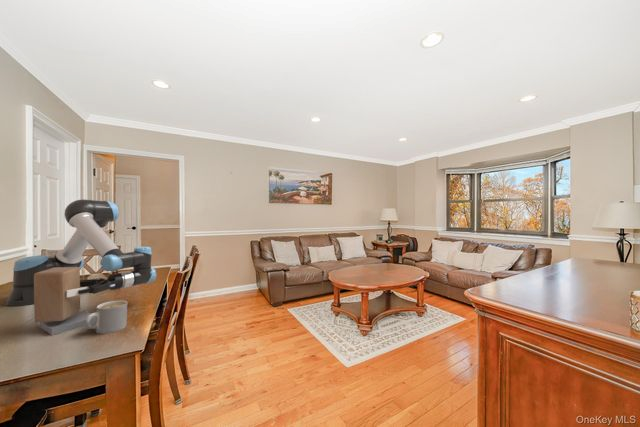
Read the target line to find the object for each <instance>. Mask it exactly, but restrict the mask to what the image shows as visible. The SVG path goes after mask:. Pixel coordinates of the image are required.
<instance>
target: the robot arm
mask: <svg viewBox="0 0 640 427" xmlns="http://www.w3.org/2000/svg"><path fill="white" fill-rule="evenodd" d="M119 211H120V210H119V208H118V205H117V204H116V203H115V202H113V201H109V200H96V199H95V200H94V199H78V200H74V201H71V202H70V203H69V204H68V205H66V208H65V209H64V219H65V220H66V222H67V224H68V225H69V226H70V227H72V228H75V229H76V230H75V231H74V233H73V235H71V237H70V239H69V240H68V242H67V243H66V245H65V246H64V247H63V249H60V250H58V251H57V252H56V254H55V255H54V256H48V255H47V254H42V255H41V254H40V255H31V256H25V257H22V258H19V259H17V260H15V262H14V265H13V267H12V268H13V277H12V280H13V281H12V290H11V292H10V293H9V295H8V297H7V300H6V306H9V307H19V306H20V307H21V306H28V305H29V306H30V305H33V304H34V274H35V273H38V272H41V271H44V270H48V269H51V268H57V267H79V268H80V271H81V270H82V269H83V267H84V263H85V260H84V257H83V254H84V253H85V251H86V249H87V248H88V247H89V245H90V246H91V247H92V248H93V249H94V251H95V252H96V253H97V254H98V255H99V257H101V259H100V264H99V265H101V266H100V267H101V269H102V270H103V271H105V272H113V271H119V270H123V269H129V268H132V269H133V270H130V271H129V270H128V271H124V272H117V273H111V274H109V276H108V278H107V279H106V278H102V277H100V278H92V279H80V288H78V289H72V290H67V292H66V297H72V296H77V295H80V296H82V295H85V294H93V295H95V294H97V293H101V292H104V291H107V290H111V291H115V290H119V289H124V288H125V289H128V288H129V287H133V286H137V285H138V286H139V285H143V284H144V285H145V284H149V283H152V282H154V281H155V280H156V278H157V272H156V271H157V270H156V269H155V268H153V267H152V256H153V255H152V254H153V252H152V247H151V246H150V247H149V246H137V247H135V248H134V249H133V251H130V252H123V251H122V250H121V249H120V248H119V247H118V245H116V243H115V242H114V241H113V240H112V238H110V237H109V235H108V234H106V232H105V231H104V230H103V228H105V227H106V226H107V225H108V224H109V223H110V222H115V221H117V219H118V217H119V213H120V212H119Z"/></svg>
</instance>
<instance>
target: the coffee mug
mask: <svg viewBox="0 0 640 427" xmlns="http://www.w3.org/2000/svg"><path fill="white" fill-rule="evenodd" d="M93 317H96V322H95V323H94V324H90V320H91V319H92V318H93ZM127 317H128V301H126V300H113V301H112V300H111V301H106V302H103V303H100V304H98V305H97V306H96V312H93V313H90V315H88V316H87V317H86V320H85V325H86V326H85V327H86V328H87V329H89V330H90V329H91V330H95V333H96V334H97V335H98V334H99V335H102V334H103V335H105V334H112V333H115V332H119V331H122V330H123V329H125V328H126V327H127V323H128V322H127V320H128V319H127Z"/></svg>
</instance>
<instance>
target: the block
mask: <svg viewBox="0 0 640 427" xmlns="http://www.w3.org/2000/svg"><path fill="white" fill-rule="evenodd" d="M80 280H81V270H80V268H79V267H57V268H51V269H48V270H44V271H41V272H38V273H35V274H34V305H33V306H34V322H35V323H40V322H51V321H63V320H65V319H67V318H69V317H71V316H72V315H74V314H76V313H78V312H79V311H81V295H77V296H72V297H66V292H67V290H72V289H78V288H81V287H80Z"/></svg>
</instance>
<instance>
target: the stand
mask: <svg viewBox="0 0 640 427" xmlns="http://www.w3.org/2000/svg"><path fill="white" fill-rule="evenodd" d="M90 314H91V313H90V312H88V311H86V310H80V311H79V312H78V313H76V314H74V315H72V316H71V317H69V318H67V319H65V320H63V321H51V322H39V328H41V329H42V330H43V331H44V332H47V333H48V334H49V335H50V336H54V335H55V336H56V335H57V334H61V333H65V332H68V331H72V330H76V329H79V328H83V327H86V325H85V320H86V317H87V316H88V315H90ZM95 322H96V317H93V318H92V319H91V320H90V324H91V325H93V324H94V323H95Z"/></svg>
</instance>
